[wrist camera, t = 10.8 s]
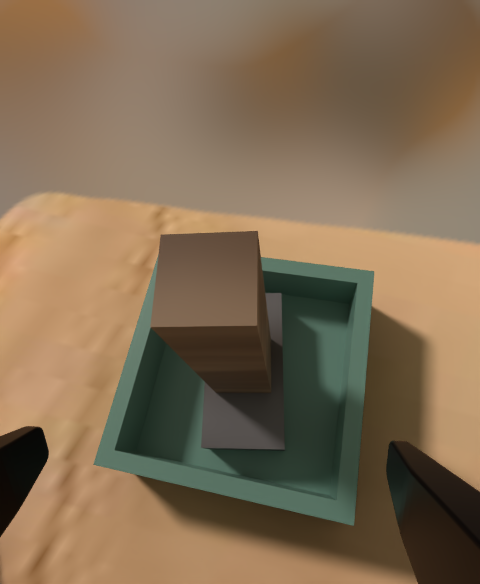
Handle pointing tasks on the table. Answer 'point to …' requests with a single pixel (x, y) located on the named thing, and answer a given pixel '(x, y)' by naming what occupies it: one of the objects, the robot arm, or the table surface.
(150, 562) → the table surface
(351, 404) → the box
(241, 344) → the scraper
